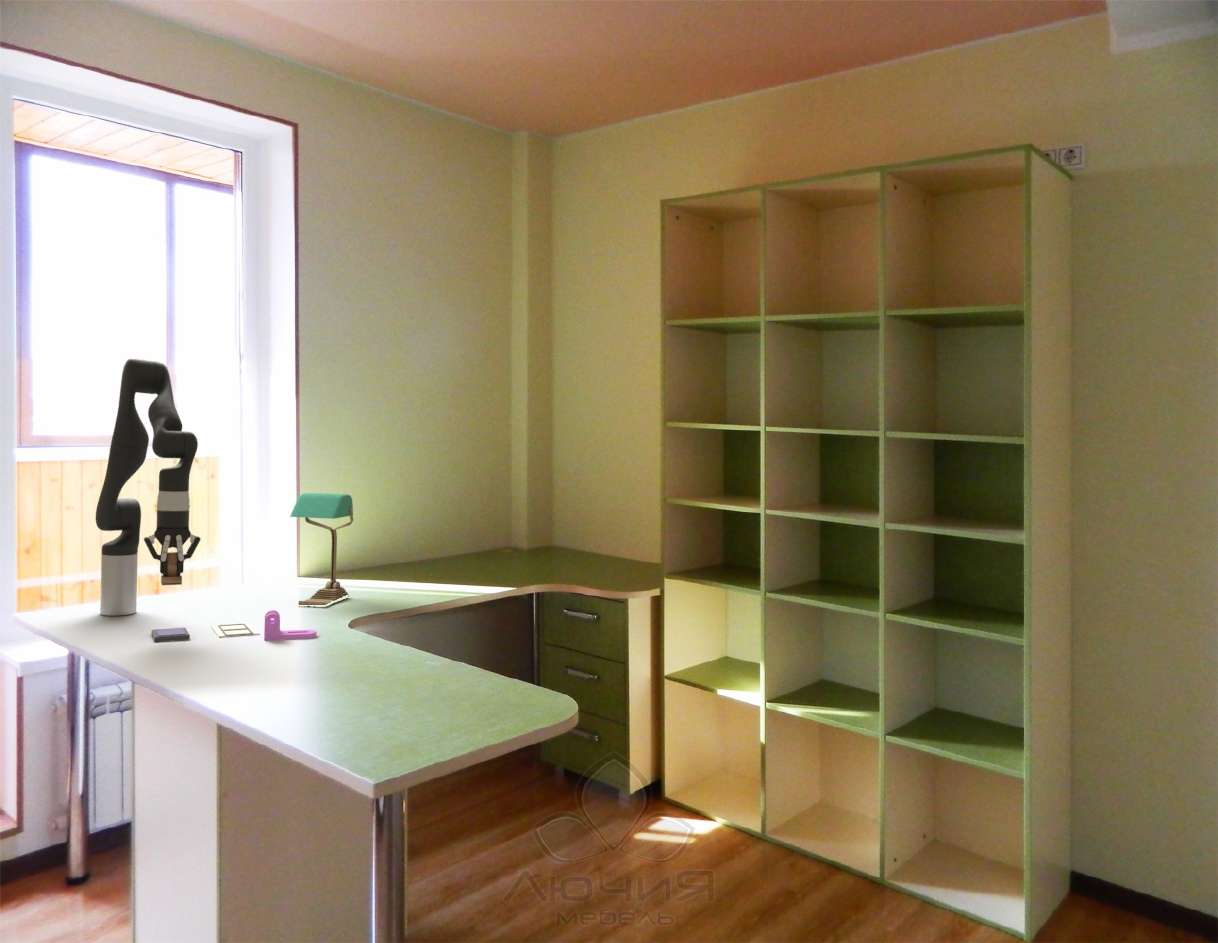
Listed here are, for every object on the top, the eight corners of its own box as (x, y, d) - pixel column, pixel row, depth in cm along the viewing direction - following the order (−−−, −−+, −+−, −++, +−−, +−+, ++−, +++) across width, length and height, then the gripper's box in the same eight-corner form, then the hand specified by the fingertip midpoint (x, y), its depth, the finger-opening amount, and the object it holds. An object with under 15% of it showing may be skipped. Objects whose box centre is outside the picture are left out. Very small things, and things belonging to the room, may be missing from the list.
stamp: (161, 582, 237) (161, 551, 237) (180, 581, 239) (180, 551, 239) (162, 585, 233) (163, 553, 233) (181, 584, 235) (182, 553, 235)
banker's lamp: (359, 598, 303) (362, 493, 303) (334, 609, 283) (337, 496, 282) (313, 596, 305) (316, 491, 304) (285, 606, 284) (288, 494, 283)
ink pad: (151, 634, 239) (151, 628, 239) (185, 632, 243) (185, 626, 243) (154, 641, 230) (155, 636, 230) (189, 639, 234) (189, 634, 234)
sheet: (211, 627, 250) (211, 625, 250) (250, 624, 255) (250, 623, 255) (219, 637, 238) (219, 635, 238) (259, 634, 243) (259, 632, 243)
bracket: (264, 640, 237) (264, 614, 236) (264, 636, 242) (264, 610, 242) (316, 638, 241) (317, 612, 241) (315, 634, 246) (316, 608, 246)
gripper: (200, 507, 242) (199, 572, 243) (141, 507, 235) (140, 574, 236) (204, 509, 236) (202, 576, 237) (144, 509, 229) (142, 578, 229)
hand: (171, 574), depth 236 cm, fingers closed on stamp, 2 cm apart
